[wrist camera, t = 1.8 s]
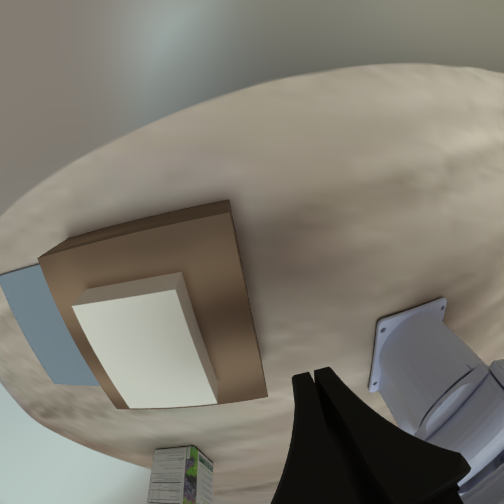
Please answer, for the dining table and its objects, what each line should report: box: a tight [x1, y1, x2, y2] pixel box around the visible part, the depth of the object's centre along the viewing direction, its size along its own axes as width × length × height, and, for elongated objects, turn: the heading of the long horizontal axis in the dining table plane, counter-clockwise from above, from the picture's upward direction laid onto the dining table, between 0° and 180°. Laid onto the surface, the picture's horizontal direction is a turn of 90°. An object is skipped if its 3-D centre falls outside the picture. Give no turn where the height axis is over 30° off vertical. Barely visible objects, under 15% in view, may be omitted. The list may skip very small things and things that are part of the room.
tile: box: [72, 272, 218, 408], centre depth 14 cm, size 8×6×2 cm
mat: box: [0, 264, 100, 386], centre depth 19 cm, size 12×10×1 cm
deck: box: [38, 200, 268, 409], centre depth 17 cm, size 13×12×4 cm
